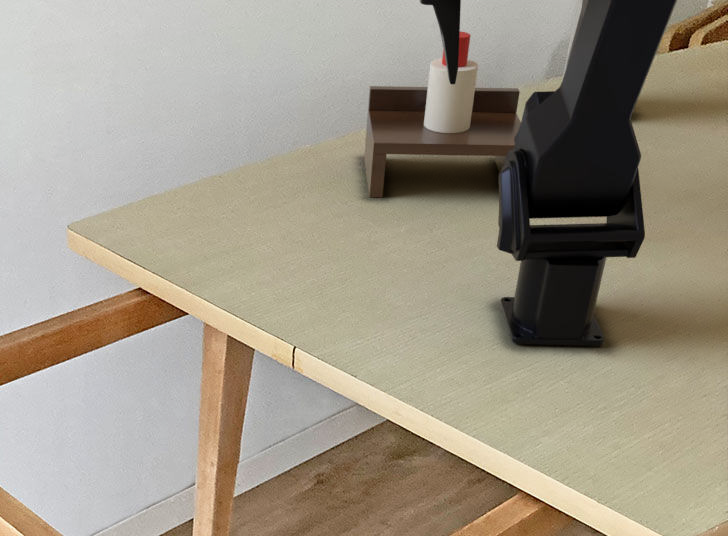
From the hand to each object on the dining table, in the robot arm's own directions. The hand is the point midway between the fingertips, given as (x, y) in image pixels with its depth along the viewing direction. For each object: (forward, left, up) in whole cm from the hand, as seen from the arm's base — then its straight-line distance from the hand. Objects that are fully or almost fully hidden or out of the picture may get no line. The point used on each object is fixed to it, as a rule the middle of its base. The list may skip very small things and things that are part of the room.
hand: (509, 83), depth 86 cm
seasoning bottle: (+11, +3, -7) cm, 13 cm away
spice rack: (+11, +3, -12) cm, 17 cm away
